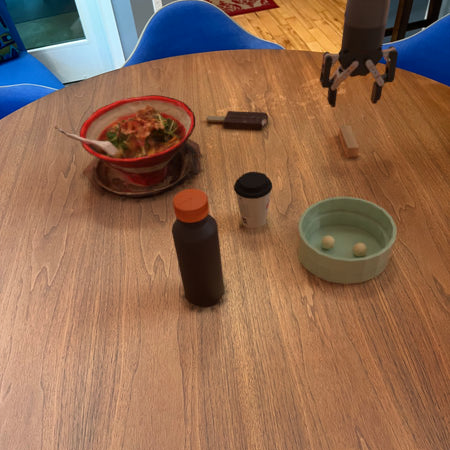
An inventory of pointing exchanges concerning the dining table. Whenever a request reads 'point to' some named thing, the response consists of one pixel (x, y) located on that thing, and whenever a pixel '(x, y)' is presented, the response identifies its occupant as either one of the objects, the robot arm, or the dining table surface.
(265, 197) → the coffee cup
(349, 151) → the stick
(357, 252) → the chickpea
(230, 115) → the ice cream bar
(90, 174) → the stew
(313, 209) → the bowl
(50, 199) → the dining table surface
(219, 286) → the bottle
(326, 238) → the chickpea
